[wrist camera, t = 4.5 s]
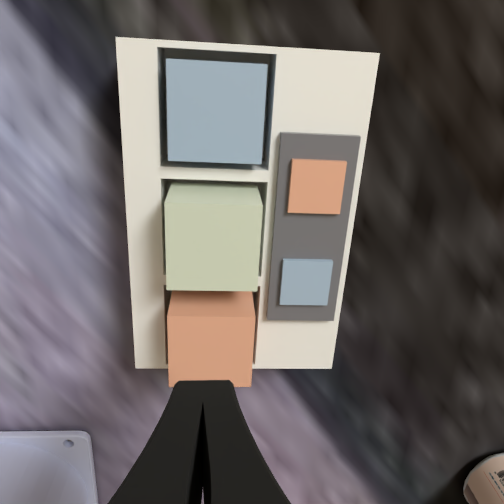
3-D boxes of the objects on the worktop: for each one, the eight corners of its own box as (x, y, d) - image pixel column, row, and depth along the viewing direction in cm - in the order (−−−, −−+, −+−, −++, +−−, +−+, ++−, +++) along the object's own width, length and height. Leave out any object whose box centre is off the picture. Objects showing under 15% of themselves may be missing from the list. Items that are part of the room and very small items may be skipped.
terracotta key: (174, 347, 19) (168, 387, 16) (173, 283, 17) (167, 316, 15) (247, 348, 19) (250, 386, 17) (250, 284, 18) (255, 317, 15)
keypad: (146, 327, 21) (133, 376, 18) (133, 40, 16) (112, 36, 13) (317, 328, 21) (334, 376, 18) (353, 53, 17) (385, 53, 13)
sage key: (173, 259, 17) (166, 290, 15) (172, 181, 16) (164, 202, 14) (252, 261, 17) (257, 291, 15) (257, 185, 16) (263, 205, 14)
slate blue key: (174, 146, 17) (168, 160, 14) (173, 58, 15) (165, 58, 13) (256, 150, 17) (261, 164, 15) (260, 62, 16) (267, 64, 13)
